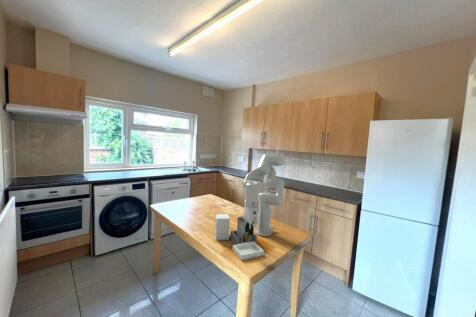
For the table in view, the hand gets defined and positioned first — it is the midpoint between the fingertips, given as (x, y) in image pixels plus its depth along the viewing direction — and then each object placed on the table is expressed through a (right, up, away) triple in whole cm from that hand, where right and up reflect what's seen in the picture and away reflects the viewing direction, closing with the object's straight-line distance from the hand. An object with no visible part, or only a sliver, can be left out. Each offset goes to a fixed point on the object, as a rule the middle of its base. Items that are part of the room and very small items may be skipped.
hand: (249, 233), depth 118 cm
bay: (-3, -11, +15) cm, 19 cm away
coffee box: (-3, -11, +16) cm, 19 cm away
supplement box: (-18, -10, +19) cm, 28 cm away
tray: (-1, -12, +1) cm, 12 cm away
